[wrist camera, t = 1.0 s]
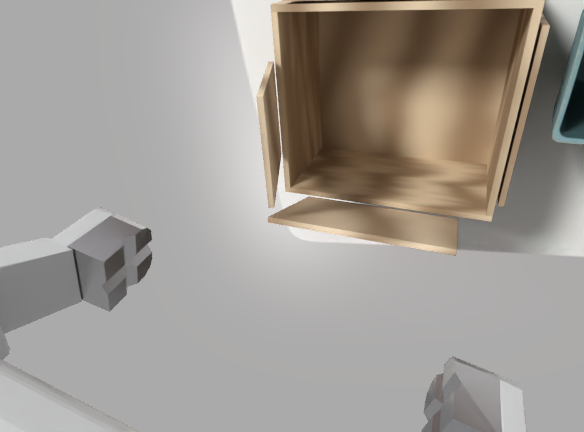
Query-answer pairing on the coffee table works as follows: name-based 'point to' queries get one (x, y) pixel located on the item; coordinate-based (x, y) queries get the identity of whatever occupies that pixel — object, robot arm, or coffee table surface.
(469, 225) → the coffee table surface
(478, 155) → the open wooden box
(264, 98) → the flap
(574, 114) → the flower pot
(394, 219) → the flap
